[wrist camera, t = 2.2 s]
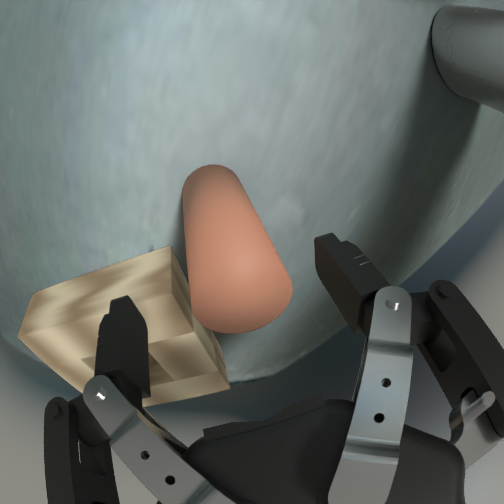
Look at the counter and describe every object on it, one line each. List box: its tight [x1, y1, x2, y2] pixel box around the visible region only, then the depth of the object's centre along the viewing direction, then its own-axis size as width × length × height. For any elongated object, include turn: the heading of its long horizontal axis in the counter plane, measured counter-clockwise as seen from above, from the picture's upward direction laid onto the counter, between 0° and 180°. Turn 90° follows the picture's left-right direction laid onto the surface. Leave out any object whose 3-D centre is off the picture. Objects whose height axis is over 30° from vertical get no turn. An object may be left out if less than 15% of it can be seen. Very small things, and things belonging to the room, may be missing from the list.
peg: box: [182, 165, 293, 334], centre depth 15 cm, size 4×4×10 cm
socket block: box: [18, 246, 230, 407], centre depth 22 cm, size 14×14×5 cm
